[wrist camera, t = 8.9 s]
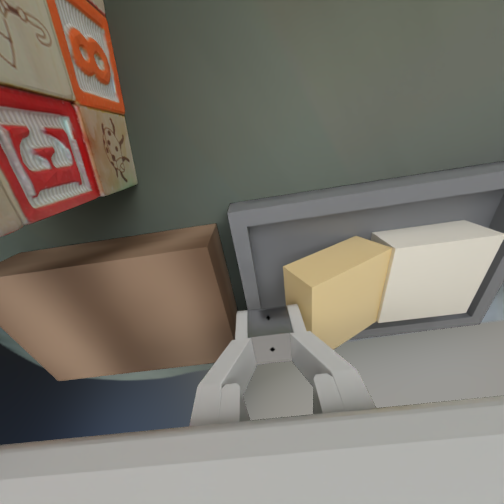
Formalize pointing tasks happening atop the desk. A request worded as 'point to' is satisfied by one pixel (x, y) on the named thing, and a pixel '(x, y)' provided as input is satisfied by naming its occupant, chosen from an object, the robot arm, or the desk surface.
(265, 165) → the desk surface
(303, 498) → the robot arm
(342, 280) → the ochre tile
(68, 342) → the walnut ledge
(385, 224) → the tray
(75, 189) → the stack of blocks
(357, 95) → the desk surface
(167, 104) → the desk surface
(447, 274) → the cream tile
